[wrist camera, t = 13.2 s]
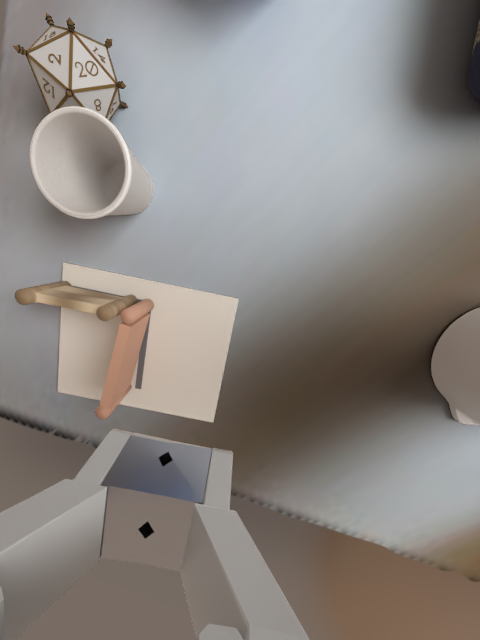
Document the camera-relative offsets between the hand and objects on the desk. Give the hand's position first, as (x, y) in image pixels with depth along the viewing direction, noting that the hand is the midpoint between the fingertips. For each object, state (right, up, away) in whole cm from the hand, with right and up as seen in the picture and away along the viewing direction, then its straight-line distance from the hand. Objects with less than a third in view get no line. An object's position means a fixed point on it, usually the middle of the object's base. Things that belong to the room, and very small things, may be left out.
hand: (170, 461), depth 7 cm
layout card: (-11, 0, +30) cm, 32 cm away
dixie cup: (-11, +19, +26) cm, 34 cm away
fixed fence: (-16, +7, +29) cm, 33 cm away
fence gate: (-12, 0, +30) cm, 32 cm away
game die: (-13, +27, +24) cm, 38 cm away
